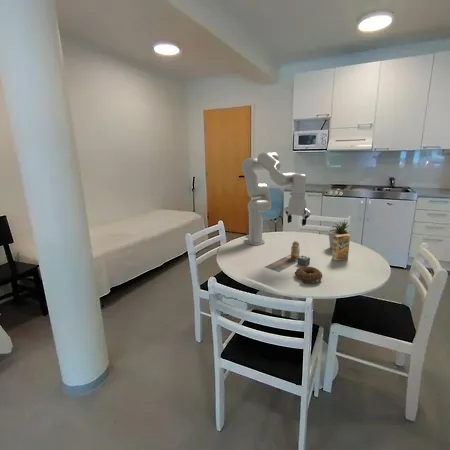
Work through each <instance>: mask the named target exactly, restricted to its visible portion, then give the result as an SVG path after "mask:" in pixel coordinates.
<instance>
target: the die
mask: <svg viewBox="0 0 450 450" xmlns="http://www.w3.org/2000/svg"><path fill="white" fill-rule="evenodd" d="M310 261H311V257H309V256H305V255H301V256H300V257H299V258H298V262H297V265H299V266H301V267H304V266H305V267H306V266H307V267H308V266H309V265H310V264H311V262H310Z"/></svg>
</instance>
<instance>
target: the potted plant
mask: <svg viewBox="0 0 450 450" xmlns="http://www.w3.org/2000/svg"><path fill="white" fill-rule="evenodd" d="M338 222H339V223H340V224H338V223H336V222H334V224H335V225H332V226H331V229H329V230H327V231H328V240H329V248H330V249H331V250H333V239H334V235H340V234H348V235H350V234H349V233H351V232H352V231H348V228H349V226H350V225H347V224H348V223H349V221H346V219H344V221H340V220H339V221H338Z"/></svg>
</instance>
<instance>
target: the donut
mask: <svg viewBox="0 0 450 450" xmlns="http://www.w3.org/2000/svg"><path fill="white" fill-rule="evenodd" d="M294 275H295V278H296V279H298V281H302V282H303V283H306V284H307V283H308V284H315V283H318V282H321V280H322V279H323V273H322V272H321V270H319V268H316V267H313V266H308V265H307V266H301V267H298V268H297V269H296V271H294Z"/></svg>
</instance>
